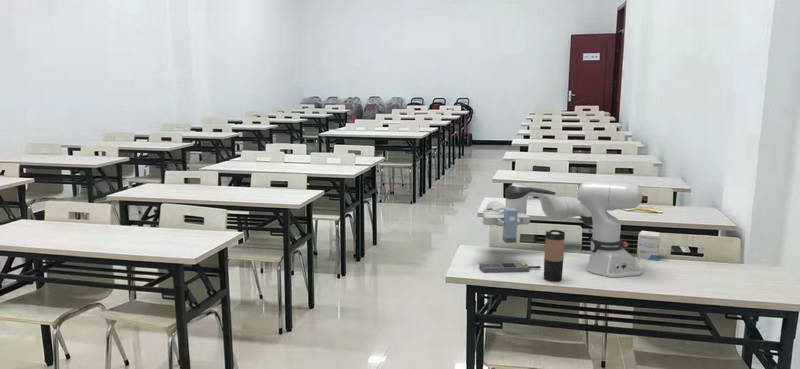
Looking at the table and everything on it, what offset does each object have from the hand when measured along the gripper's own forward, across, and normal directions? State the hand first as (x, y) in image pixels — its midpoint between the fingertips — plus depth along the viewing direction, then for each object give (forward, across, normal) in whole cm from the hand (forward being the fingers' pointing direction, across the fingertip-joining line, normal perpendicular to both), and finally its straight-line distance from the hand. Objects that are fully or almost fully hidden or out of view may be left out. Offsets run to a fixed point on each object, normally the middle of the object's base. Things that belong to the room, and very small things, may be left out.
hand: (510, 223), depth 250 cm
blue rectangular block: (-1, 0, -8) cm, 8 cm away
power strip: (-1, -1, -21) cm, 21 cm away
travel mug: (+12, -15, -21) cm, 29 cm away
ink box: (-15, -71, -21) cm, 76 cm away
